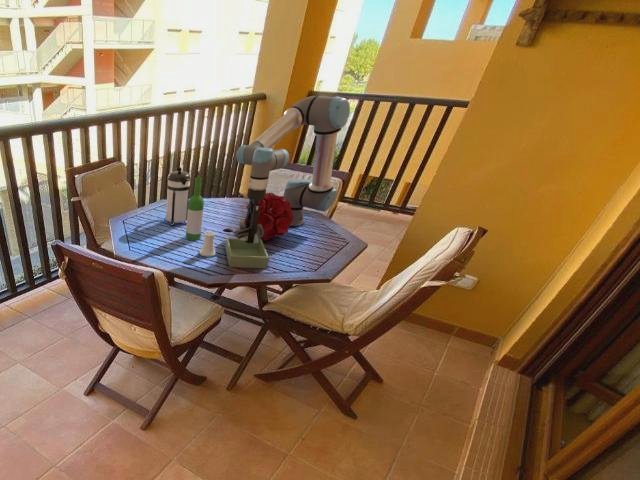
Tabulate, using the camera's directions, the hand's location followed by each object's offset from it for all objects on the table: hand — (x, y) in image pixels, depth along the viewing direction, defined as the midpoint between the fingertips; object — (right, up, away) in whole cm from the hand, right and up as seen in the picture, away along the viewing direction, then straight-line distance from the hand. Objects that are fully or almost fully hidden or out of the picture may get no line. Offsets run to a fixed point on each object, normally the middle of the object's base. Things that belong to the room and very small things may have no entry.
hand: (248, 238), depth 178 cm
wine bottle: (-21, +7, +26) cm, 35 cm away
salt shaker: (+22, +25, +50) cm, 60 cm away
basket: (0, -8, +5) cm, 9 cm away
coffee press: (-28, +22, +47) cm, 59 cm away
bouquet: (+15, +8, +27) cm, 32 cm away
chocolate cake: (0, -1, 0) cm, 1 cm away
